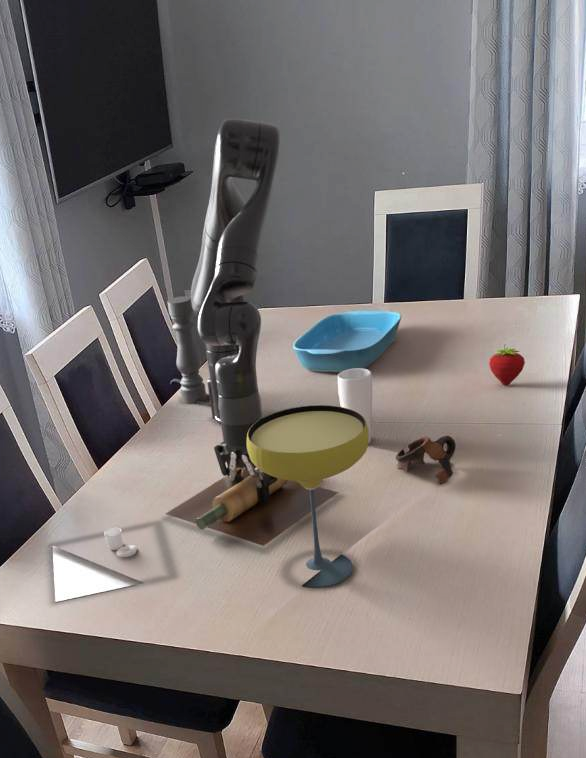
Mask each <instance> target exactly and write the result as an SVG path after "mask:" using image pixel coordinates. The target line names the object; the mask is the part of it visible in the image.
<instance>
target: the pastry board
mask: <svg viewBox="0 0 586 758" xmlns="http://www.w3.org/2000/svg"><path fill="white" fill-rule="evenodd" d="M249 476H250V473H249V471H248V470H247V469H245V468H244V469H243V474H242V475H241V477H244V479H246V478H247V477H249ZM231 487H233V486H232V481H231V480H230V478H229V476H227V475H226V476H224V477H222V478H221V479H219V480H217V481H216V482H214V483H212V484H211V485H209V486H208V487H206V488H204V489H202V490H201V491H200V492H198V493H196V494H195V495H193V496H191V497H190V498H188V499H187V500H185V501H183V502H181V503H180V504H179V505H177V506H175V507H174V508H172V509H170V510H168V511H167V512H165V515H167V516H170V517H173V518H176V519H179V520H183V521H185V522H189V523H191V524H195V525H196V519H197V518H199V517H201V516H202V515H204V514H205V513H207V512H208V511H210V510H211V509H213V506H212V503H213V500H214V498H216V497H217V496H219V495H220V494H222V493H224V492H225V491H227V490H228V489H230V488H231ZM338 493H339V491H335V490H332V489H329V488H328V489H327V488H325V487H320V486H318V487H317V488H316V489H314V499H315V510H316V509H317V508H319V507H320V506H321V505H323V504H324V503H326V502H327V501H329V500H330V499H331V498H333V497H334V496H335V495H336V494H338ZM310 513H312V509H311V499H310V490H308V489H306V488H304V487H303V486H302V485H301V484H300V483H299V482H296V481H289V480H288V481H287V483H286V484H285V485H284V486H282V487H281V488H279V489H278V490H276V491H275V492H273V493H272V494H270V500H269V501H268V502H267V503H266V504H264V505H260V504H259V503H257V504H255V505H254V506H252V507H251V508H249V509H248V510H246V511H245V512H243V513H242V514H240V515H239V516H237V517H236V518H234V519H233V520H231V521H229V522H224V521H222V520H221V519H219V520H217V521H216V522H214V523H213V524H211V525H210V526H208V527H206V529H210V530H213V531H215V532H219V533H220V532H221V533H223V534H225V535H229V536H232V537H235V538H238V539H241V540H245V541H248V542H250V543H253V544H256V545H259V546H262V547H264V546H266V545H267V544H268V543H270V542H271V541H272V540H274V539H275V538H277V537H278V536H280V535H281V534H282V533H284V532H285V531H286V530H288V529H289V528H291V527H292V526H293V525H295V524H296V523H298V522H299V521H300V520H302V519H303V518H304V517H306V516H308V515H309V514H310Z"/></svg>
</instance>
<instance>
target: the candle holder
mask: <svg viewBox="0 0 586 758" xmlns="http://www.w3.org/2000/svg"><path fill="white" fill-rule="evenodd" d="M167 308H168V314H169V316H170V318H171V320H172V322H173V324H172V330H173V331H175V335H176V340H177V341H176V342H177V349H176V350H177V351H176V361H175V362H176V363H175V365H176V368H177V369H178V371H179V372H180V373H181V376H182V377H181V379H180V380H181V382H180V383H181V384H180V383H179V384H180V385H181V386H180V388H179V389H180V390H179V391H180V396H181V401H182V403H184V404H188V405H189V404H191V405H192V404H197V403H196V402H195V401H196V400H200V401H203V402H204V401H205V400H206V399H207V397H208V395H207V391H206V384H205V383H204V378H203V377H202V376H201V374H200V369H201V366H202V359H201V356H200V354H199V351H198V348H197V346H196V344H195V341H194V334H193V328H194V327H195V323H194V322H193V321H191V319H192V316H193V313H194V311H193V308H192V304H191V296H187V295H185V296H184V295H183V296H176V297H173V298H170V299H168V300H167Z"/></svg>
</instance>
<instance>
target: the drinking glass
mask: <svg viewBox="0 0 586 758" xmlns="http://www.w3.org/2000/svg"><path fill="white" fill-rule="evenodd" d="M337 393H338V400H339V407H343V408H347V409H351V410H353V411H355V412H357V413H359V414H360V415H362V416H363V417H364V419H365V421H366V423H367V426H368V432H369V442H368V444H370V443H371V442H372V413H373V412H372V411H373V379H372V372H371V370H370V369H367V368H364V369H362V368H354V369H348V370H344V371H342V372H338V374H337Z"/></svg>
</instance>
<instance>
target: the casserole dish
mask: <svg viewBox="0 0 586 758" xmlns="http://www.w3.org/2000/svg"><path fill="white" fill-rule="evenodd" d="M401 320H402V314H401V313H400V312H397V311H391V310H390V311H389V310H388V311H387V310H382V309H357V310H353V311H352V310H351V311H342V312H336V313H333V314H329V315H326V316H325V317H323V318H321V319H320V320H319V321H317V322H316V323H315V324H314V325H312V326H311V327H310V328H309V329H307V330H306V331H305V332H304V333H303V334H302V335H300V336H299V337H298V338H297V339H296V340H295V341H294V343H293V344H292V348H293V351H294V352H295V354H296V357H297V359H298V362H299V363H300V365H301V366H302V367H303V368H305V369H306V370H308V371H310V372H321V373H322V372H323V373H324V372H325V373H330V372H332V373H340V372H342V371H344V370H348V369H354V368H362V369H367V368H368V367H369V366H370V365H371V364H372V363H374V362H375V361H376V360H377V359H378V358H379V357H380V356H381V354H383V353H384V352H385V351H386V350H387V349H388V347H390V346H391V344H392V343H393V342H394V340H395V339H396V337H397V334H398V330H399V327H400V323H401Z"/></svg>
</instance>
